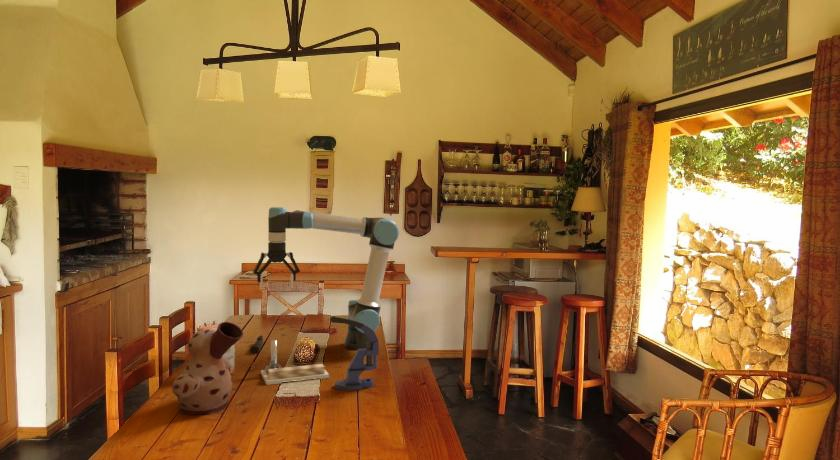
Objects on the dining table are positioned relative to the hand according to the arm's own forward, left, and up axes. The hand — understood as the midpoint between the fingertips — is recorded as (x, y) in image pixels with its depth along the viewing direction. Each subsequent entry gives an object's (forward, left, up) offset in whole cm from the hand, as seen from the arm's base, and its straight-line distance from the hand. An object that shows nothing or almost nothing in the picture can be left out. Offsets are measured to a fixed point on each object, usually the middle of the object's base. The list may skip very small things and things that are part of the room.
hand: (276, 288), depth 256 cm
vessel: (+31, +50, -32) cm, 67 cm away
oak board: (-3, +31, -30) cm, 43 cm away
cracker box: (+27, +17, -32) cm, 45 cm away
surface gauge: (+5, +25, -30) cm, 39 cm away
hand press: (-22, +47, -32) cm, 61 cm away
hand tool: (+6, -19, -32) cm, 38 cm away
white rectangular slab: (-3, +27, -32) cm, 42 cm away
